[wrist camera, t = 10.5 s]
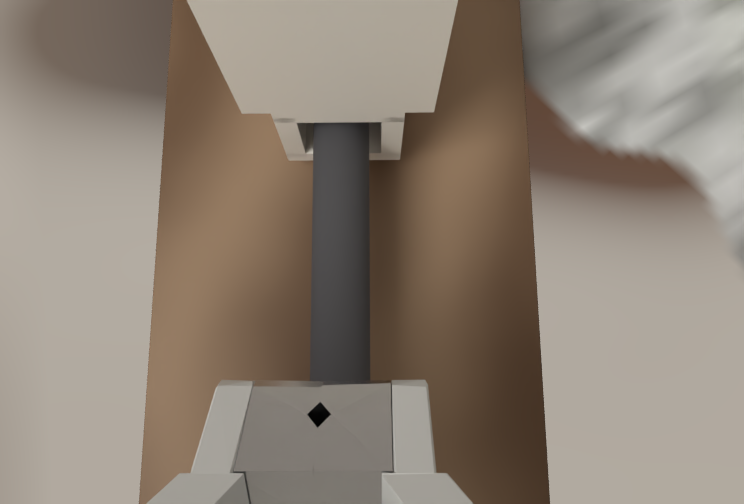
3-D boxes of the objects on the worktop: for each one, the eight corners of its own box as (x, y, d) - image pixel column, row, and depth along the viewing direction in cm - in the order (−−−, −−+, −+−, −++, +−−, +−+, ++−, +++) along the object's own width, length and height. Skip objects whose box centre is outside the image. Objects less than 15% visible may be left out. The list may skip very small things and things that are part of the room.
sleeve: (421, 44, 21) (464, -282, 11) (423, 159, 20) (473, -74, 10) (268, 45, 21) (167, -279, 11) (264, 160, 20) (151, -72, 10)
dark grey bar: (415, -132, 23) (424, -251, 19) (436, 781, 17) (457, 914, 13) (277, -131, 23) (255, -250, 19) (250, 782, 17) (208, 915, 13)
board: (505, -116, 24) (510, -137, 23) (558, 800, 18) (569, 824, 17) (189, -114, 24) (182, -135, 23) (131, 801, 18) (117, 825, 17)
